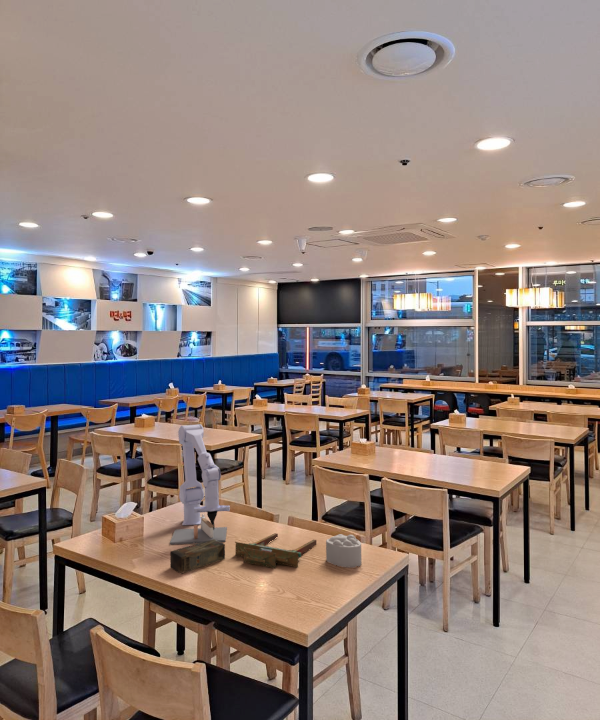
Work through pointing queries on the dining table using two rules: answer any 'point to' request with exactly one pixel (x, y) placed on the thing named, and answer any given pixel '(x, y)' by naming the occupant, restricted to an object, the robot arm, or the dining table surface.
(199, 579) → the dining table surface
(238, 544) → the miniature gate
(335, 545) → the lumpy-topped squat cylinder
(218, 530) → the grey plate with bar
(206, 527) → the gate
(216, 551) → the dark olive rectangular block
